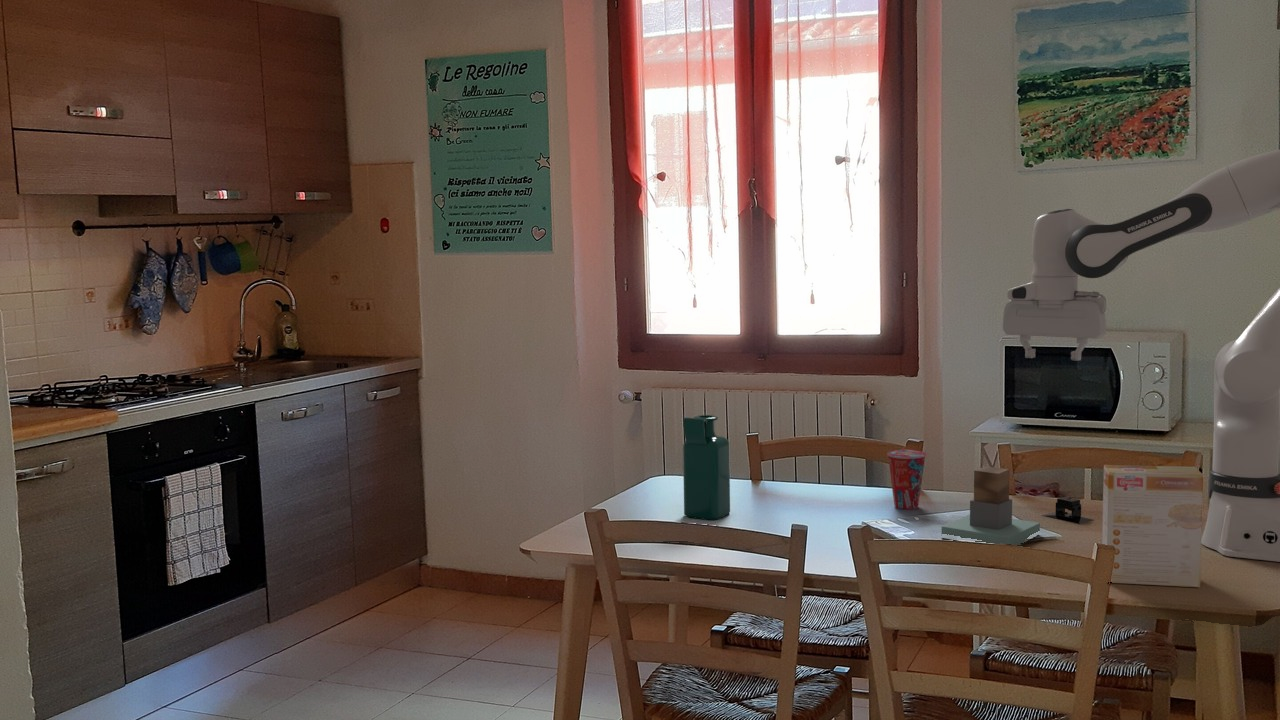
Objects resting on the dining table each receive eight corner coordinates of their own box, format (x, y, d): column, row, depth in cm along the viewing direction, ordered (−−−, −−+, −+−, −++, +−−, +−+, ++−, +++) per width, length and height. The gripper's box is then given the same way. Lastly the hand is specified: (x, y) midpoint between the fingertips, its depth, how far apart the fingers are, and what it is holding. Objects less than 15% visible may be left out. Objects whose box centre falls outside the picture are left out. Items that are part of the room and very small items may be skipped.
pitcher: (699, 508, 258) (697, 411, 256) (733, 512, 254) (732, 413, 251) (677, 518, 250) (676, 417, 247) (712, 522, 245) (711, 420, 243)
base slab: (1039, 535, 230) (1039, 522, 230) (1009, 550, 220) (1009, 537, 219) (973, 524, 239) (973, 512, 239) (941, 538, 229) (941, 526, 229)
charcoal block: (1011, 523, 229) (1012, 499, 229) (998, 530, 225) (999, 504, 224) (983, 519, 233) (983, 495, 233) (969, 525, 229) (970, 500, 228)
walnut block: (1009, 499, 229) (1009, 469, 228) (998, 504, 225) (998, 473, 224) (985, 495, 232) (985, 466, 231) (973, 500, 228) (974, 470, 228)
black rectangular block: (1104, 523, 240) (1105, 502, 240) (1083, 529, 236) (1083, 507, 236) (1053, 512, 251) (1053, 491, 250) (1031, 517, 247) (1032, 496, 246)
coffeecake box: (1192, 576, 201) (1196, 465, 199) (1201, 588, 194) (1205, 474, 192) (1100, 571, 205) (1102, 463, 203) (1105, 583, 198) (1108, 471, 196)
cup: (934, 508, 254) (934, 454, 252) (901, 512, 250) (901, 458, 249) (909, 500, 262) (909, 447, 261) (877, 504, 259) (877, 451, 258)
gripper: (1112, 290, 229) (1110, 360, 231) (1012, 289, 243) (1011, 354, 244) (1100, 292, 224) (1098, 363, 226) (999, 290, 238) (998, 357, 239)
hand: (1052, 359), depth 235 cm, fingers open, 8 cm apart
